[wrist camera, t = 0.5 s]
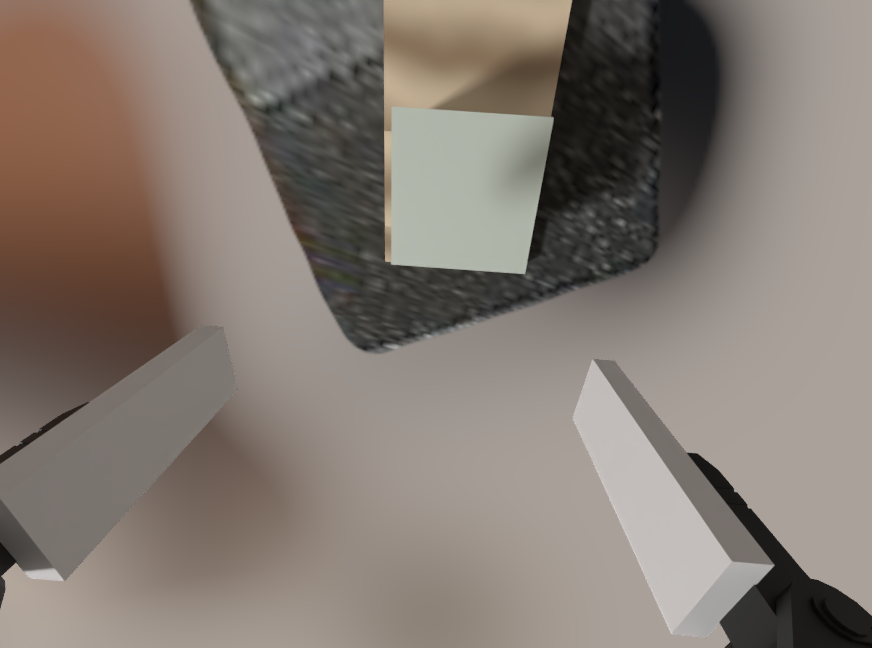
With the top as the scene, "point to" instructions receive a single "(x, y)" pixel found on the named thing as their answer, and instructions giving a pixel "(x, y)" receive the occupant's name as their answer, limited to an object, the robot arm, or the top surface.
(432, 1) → the board
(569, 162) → the top surface
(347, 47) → the top surface
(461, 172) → the block
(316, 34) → the top surface
